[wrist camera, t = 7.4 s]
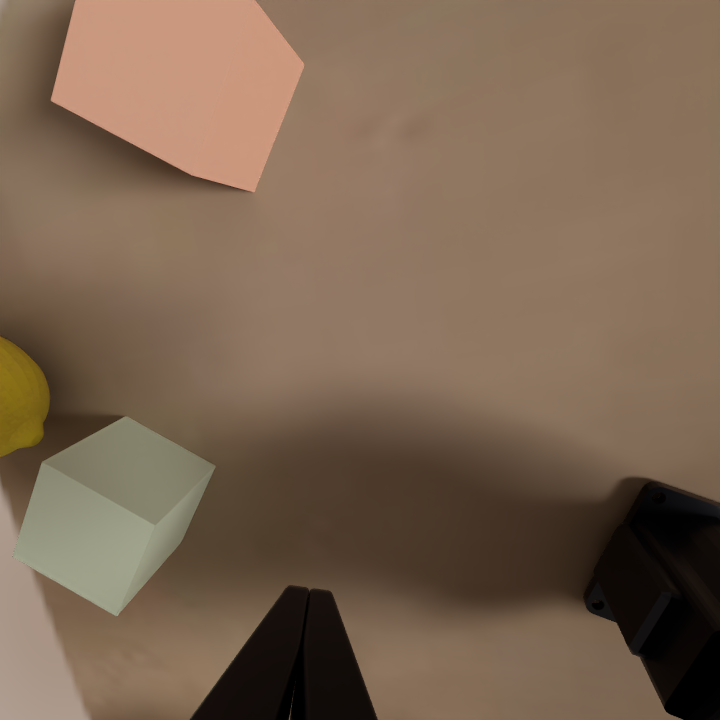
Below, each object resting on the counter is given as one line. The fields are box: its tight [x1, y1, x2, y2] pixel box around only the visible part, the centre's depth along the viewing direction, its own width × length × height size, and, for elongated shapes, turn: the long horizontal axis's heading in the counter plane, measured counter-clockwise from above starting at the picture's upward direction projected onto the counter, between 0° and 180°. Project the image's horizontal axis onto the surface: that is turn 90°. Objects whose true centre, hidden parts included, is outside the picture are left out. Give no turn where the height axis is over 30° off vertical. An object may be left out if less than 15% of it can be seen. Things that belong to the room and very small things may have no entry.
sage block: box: [13, 416, 216, 616], centre depth 21 cm, size 5×5×5 cm
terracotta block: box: [51, 0, 304, 192], centre depth 16 cm, size 5×5×5 cm
